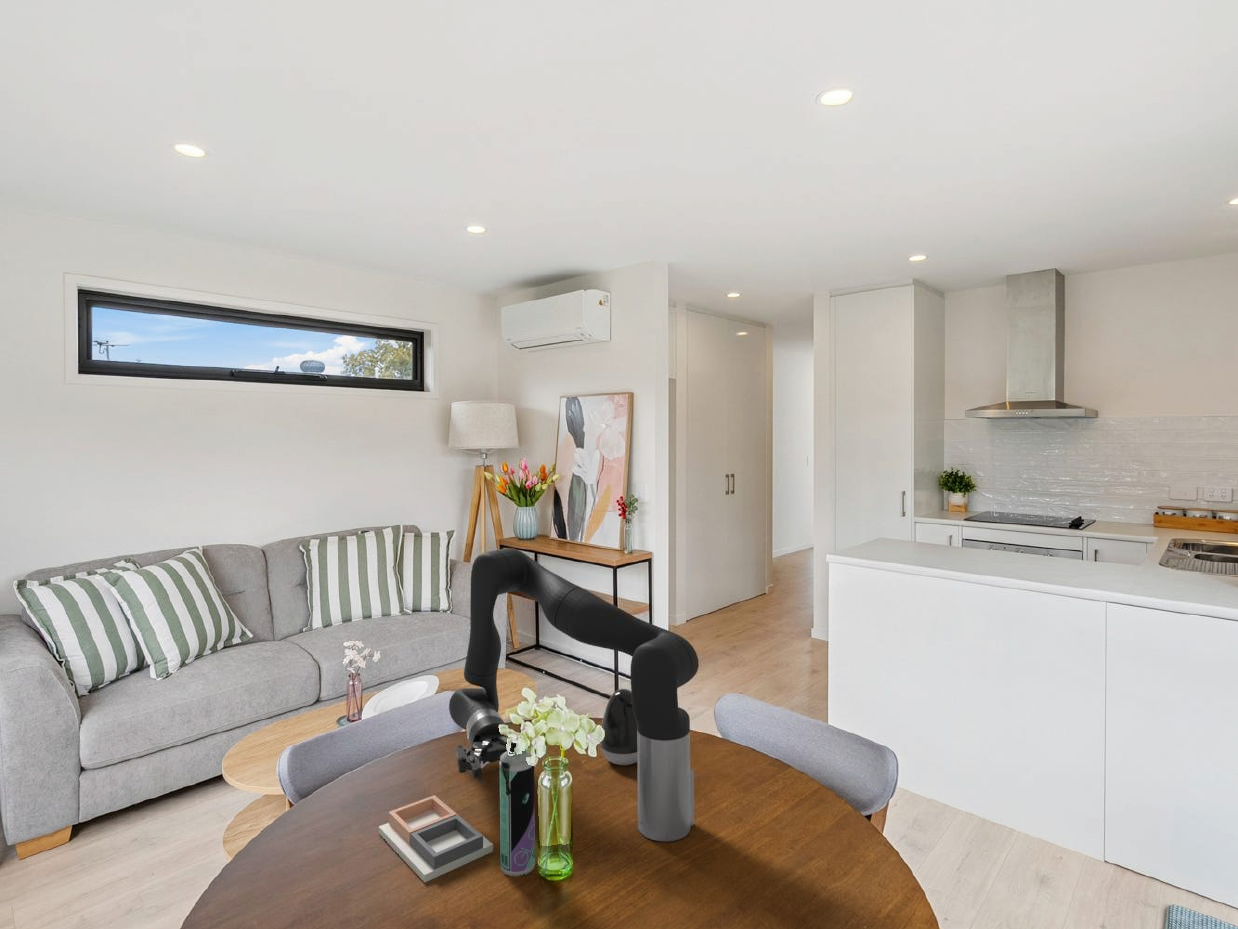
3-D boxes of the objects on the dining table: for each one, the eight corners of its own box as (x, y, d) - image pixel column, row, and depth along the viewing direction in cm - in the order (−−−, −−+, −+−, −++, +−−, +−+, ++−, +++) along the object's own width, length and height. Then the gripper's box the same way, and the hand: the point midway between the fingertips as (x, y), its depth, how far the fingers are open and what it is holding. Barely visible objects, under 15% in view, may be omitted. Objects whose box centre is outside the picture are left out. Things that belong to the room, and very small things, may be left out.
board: (442, 808, 124) (442, 791, 124) (493, 851, 110) (492, 832, 110) (378, 833, 116) (378, 815, 116) (424, 882, 102) (424, 862, 102)
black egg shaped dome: (614, 776, 136) (613, 701, 136) (591, 756, 145) (591, 686, 145) (657, 764, 141) (656, 692, 141) (632, 745, 150) (631, 678, 150)
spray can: (528, 878, 103) (527, 750, 103) (495, 874, 104) (493, 747, 104) (539, 857, 109) (538, 735, 108) (508, 853, 110) (506, 732, 109)
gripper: (450, 720, 128) (462, 755, 113) (523, 709, 133) (544, 742, 118) (450, 759, 128) (463, 800, 113) (523, 747, 133) (545, 784, 118)
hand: (504, 770), depth 115 cm, fingers open, 8 cm apart
